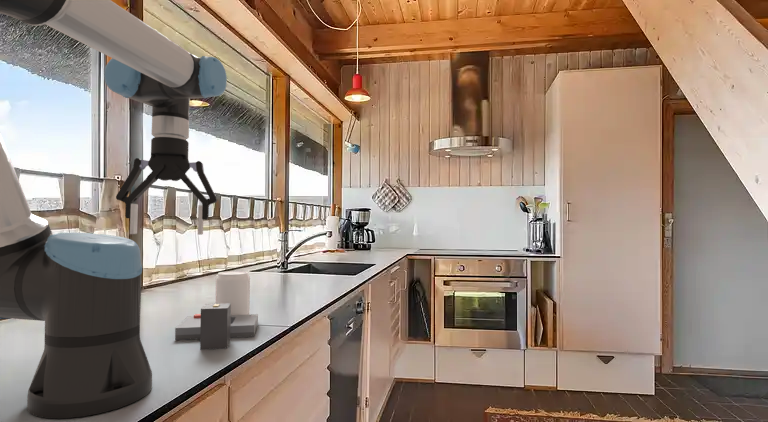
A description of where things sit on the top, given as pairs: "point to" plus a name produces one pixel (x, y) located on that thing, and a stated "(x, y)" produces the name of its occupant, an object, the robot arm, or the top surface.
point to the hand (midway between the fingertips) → (167, 234)
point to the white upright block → (234, 291)
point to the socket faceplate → (239, 327)
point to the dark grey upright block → (215, 326)
